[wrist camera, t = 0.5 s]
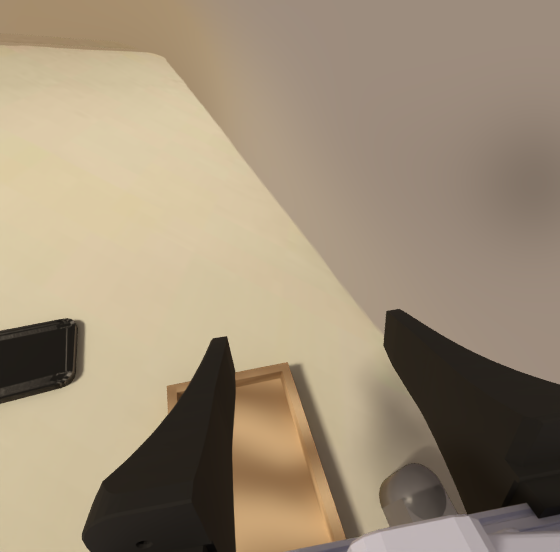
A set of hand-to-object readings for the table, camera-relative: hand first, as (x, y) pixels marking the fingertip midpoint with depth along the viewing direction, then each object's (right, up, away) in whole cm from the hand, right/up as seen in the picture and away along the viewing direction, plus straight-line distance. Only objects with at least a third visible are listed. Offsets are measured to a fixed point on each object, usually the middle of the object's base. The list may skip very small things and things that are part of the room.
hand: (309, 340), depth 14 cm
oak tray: (-4, -14, +12) cm, 19 cm away
